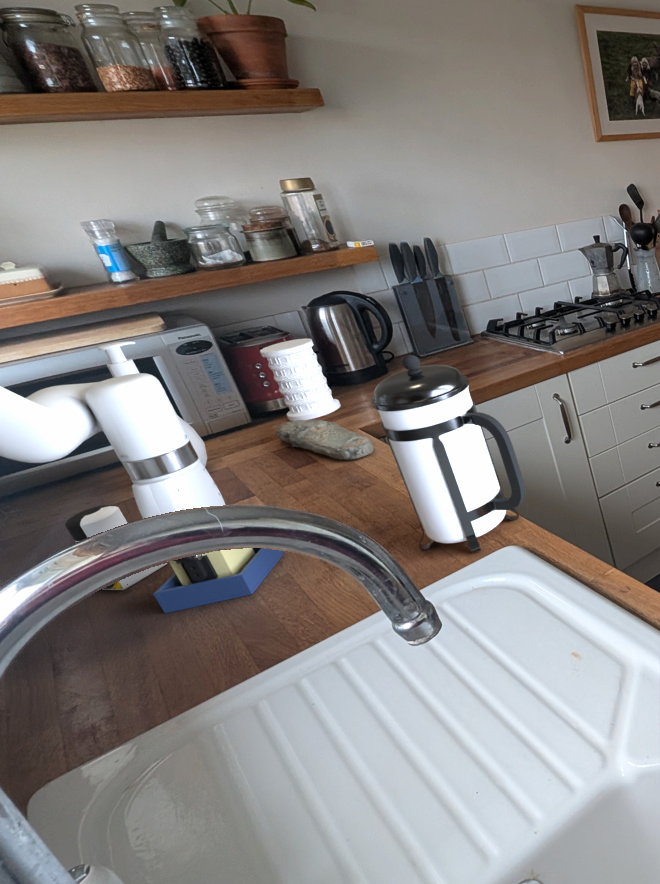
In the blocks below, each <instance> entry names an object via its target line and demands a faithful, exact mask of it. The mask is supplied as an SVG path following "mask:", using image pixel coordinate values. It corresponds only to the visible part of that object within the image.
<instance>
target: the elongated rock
mask: <svg viewBox="0 0 660 884" xmlns="http://www.w3.org/2000/svg"><path fill="white" fill-rule="evenodd" d="M274 432H275V436H277V438H278V439H280V440H282V441H283V442H285V443H287V444H290V446H291V448H301V449H303V450H309V451H311V452H313V453H315V454H321V455H325V456H327V457H329V458H333V459H335V460H338V459H339V460H355V459H360V458H363V457H366V456H368V455H371V454H372V453H373V452H374V443H373V442H372V441H371V440H370V438H369V437H368V436H365V435H361V434H359V433H358V432H355V431H353V430H349V429H347V428H345V427H342V426H340V425H339V424H338V423H336V422H335V421H331V422H330V421H327V420H322V419H309V420H297V421H289V422H285V423H283V424H282V425H279V426H278V427H277V428H275V431H274Z"/></svg>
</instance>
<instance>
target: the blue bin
mask: <svg viewBox="0 0 660 884" xmlns="http://www.w3.org/2000/svg"><path fill="white" fill-rule="evenodd" d="M253 550H254V552H255V554H256V555H255V556H254V557H253V558H252V559H251V561H250V562H249V563H248V564H247V565H246V566H245V568H244V569H243V570H242V571H241V572H240V573H239V574H236V575H231V576H226V577H222V578H217V579H212V580H208V581H203V582H198V583H194V584H189V585H184V586H182V584H181V582H180V580H179V579H178V577H177V575H176V573H175V572H174V573H173V574H172V575H171V576H170V577H168V579H166V580H165V582H164V583H162V585H161V586H160V587H158V589H156V590H155V591H154V592H153V596H154V597H155V599H156V601H157V603H158V604H159V606H160V608H161V610H162V611H163V612H164V614H169V613H174V612H179V611H183V610H187V609H192V608H196V607H201V606H206V605H210V604H215V603H220V602H224V601H228V600H232V599H237V598H242V597H246V596H250V595H253V594H254V593H255V591H256V590H257V589H258V588H259V586H260V585H261V584H262V583H263V581H264V580H265V579H266V577H267V576H268V575H269V574H270V572H271V571H272V570H273V568H274V567H275V566H276V565H277V563H278V562H279V561H280V560H281V559H282V557H283V556H284V555H285V551H284V550H283V551H279V550H272V549H264V548H253Z"/></svg>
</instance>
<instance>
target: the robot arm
mask: <svg viewBox="0 0 660 884" xmlns="http://www.w3.org/2000/svg"><path fill="white" fill-rule="evenodd" d="M164 390H165V389H164V387H163V385H162V383H161V382H160V380H159V379H158V378H157V377H156V376H154V375H153V374H151V373H150V374H149V373H145V372H143V373H141V372H139V373H136V374H129V375H123V376H119V377H115V378H113V377H111V378H107V379H104V380H101V381H95V382H86V383H85V382H83V383H72V384H71V383H70V384H59V385H53V386H49V387H45V388H42V389H39V390H37V391H35V392H33V393H31V394H29V395H28V396H26V397H24V396H22V395H19V394H17V393H15V392H13V391H11V390H10V389H7V388H6V387H3V386H1V385H0V457H1V458H4V459H8V460H12V461H17V462H20V463H28V464H44V463H51V462H54V461H57V460H60V459H62V458H65V457H67V456H68V455H70V454H71V453H72V452H73V451H75V450H76V449H78V448H79V446H80V445H82V443H84V442H85V441H87V440H88V439H90V438H91V437H93V436H95V435H97V434H98V433H100V432H103V433H104V436H106V438H107V440H108V442H109V444H110V445H111V447H112V449H113V452H115V454H116V457H117V458H118V460H119V461H120V463H121V465H122V467H123V468H124V470H125V472H126V474H127V476H128V477H129V479H130V480H131V482H132V485H131V489H132V494H133V497H134V501H135V503H136V506H137V510H138V511H139V513H140V516H141V518H142V520H143V519H144V518H148V517H152V516H156V515H161V514H165V513H169V512H175V511H180V510H186V509H193V508H201V507H210V506H223V505H228V506H229V504H228V503H229V499H228V497H227V496H226V495H222V493H221V492H220V489H219V487H218V485H217V484H216V482H215V481H214V479H213V477H212V476H211V474H210V473H209V471H208V470H207V468H206V466H205V467H204V466H203V464H202V463H201V462H200V459H199V457H198V455H197V453H196V451H195V449H194V447H193V445H192V444H191V442H190V440H189V438H188V436H187V434H186V432H185V430H184V428H183V426H182V424H181V422H180V420H179V418H178V416H179V415H178V414H177V412H176V410H175V408H174V406H173V404H172V402H171V400H170V399H169V397H168V395H167V392H166V390H165V391H164ZM177 415H178V416H177ZM173 561H175V562H176V563H177V564H181V566H182V567H183V569H184V571H185V573H186V574H187V576H188V578H189V580H190V582H191V583H192V584H194V583H198V582H203V581H208V580H212V579H217V578H218V575H217V573H216V571H215V569H214V567H213V565H212V564H211V562H210V560H209V558H208V556H207V555H205V556H203V555H202V554H198V555H195V556H191V557H185V558H182V559H178V560H173Z"/></svg>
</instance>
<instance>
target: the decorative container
mask: <svg viewBox="0 0 660 884" xmlns="http://www.w3.org/2000/svg"><path fill="white" fill-rule="evenodd" d="M314 345H315V344H314V342H313V339H312V338H307V337H306V338H296V339H291V340H286V341H281V342H277V343H274V344H271V345H268V346H265V347H262V348H261V349H260V350H259V353H260V356H261V357H262V358H266V360H267V362H268V364H267V366H268V368H269V370H271V371H272V373H273V380H274V381H275V382H276V383H277V384H278V391H279V393H280V394H281V395H282V396H283V398H284V399H283V400H284V401H283V402H284V404H285V405H286V407H287V408H288V409H289V411H288V412H287V413H286V417H287V420H289V422H293V421H297V420H315V419H316V418H321V417H323V416H327V415H329V414H331V413H333V412H335V411H337V410H338V409H340V408H341V406H342V405H341V403H340V400H339V399H337V398H333V396H332V394H333V393H332V389H331V388H330V387H329V386H328V381H327V377H326V376H325V375H324V374H323V367H322V365H321V364H320V363H319V362H318V355H317V353H315V352H314V350H313V348H312V347H314Z"/></svg>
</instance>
